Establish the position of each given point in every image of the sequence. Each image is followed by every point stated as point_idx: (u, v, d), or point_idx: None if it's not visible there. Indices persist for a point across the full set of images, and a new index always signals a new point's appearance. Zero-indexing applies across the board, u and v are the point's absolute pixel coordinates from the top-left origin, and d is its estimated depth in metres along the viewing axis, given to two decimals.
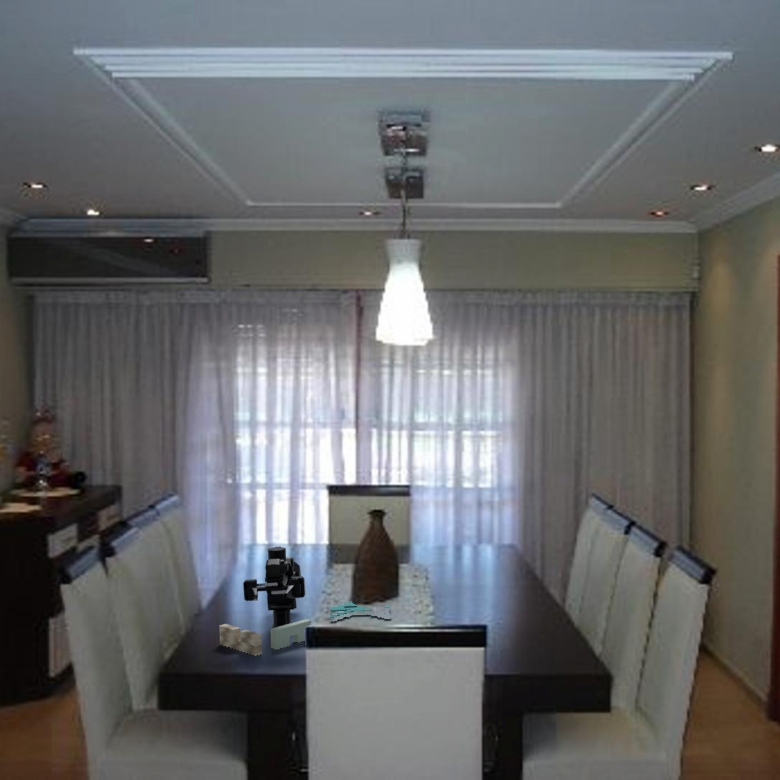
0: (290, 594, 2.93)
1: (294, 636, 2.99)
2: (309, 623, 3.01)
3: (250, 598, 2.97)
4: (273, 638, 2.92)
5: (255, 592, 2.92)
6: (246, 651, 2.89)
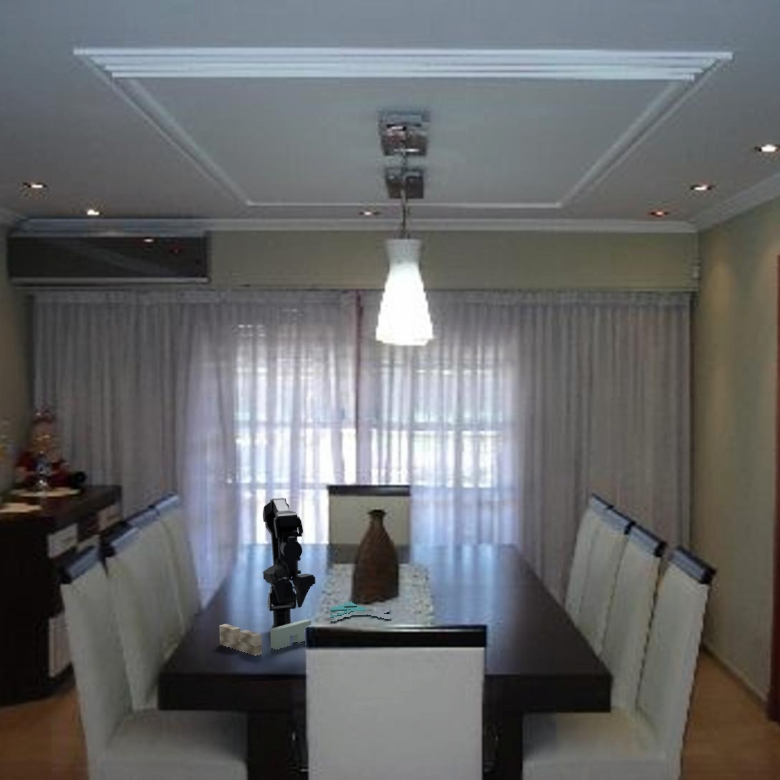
0: (302, 599, 2.93)
1: (294, 636, 2.99)
2: (309, 623, 3.01)
3: None
4: (273, 638, 2.92)
5: (277, 597, 3.00)
6: (246, 651, 2.89)
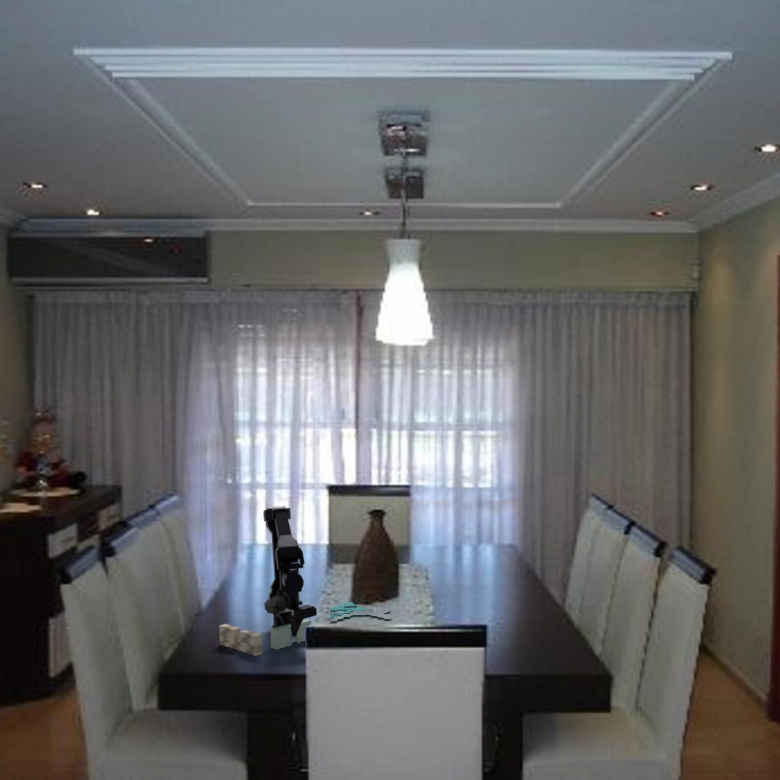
0: (297, 628, 2.96)
1: None
2: (309, 623, 3.01)
3: None
4: (273, 638, 2.92)
5: None
6: (246, 651, 2.89)
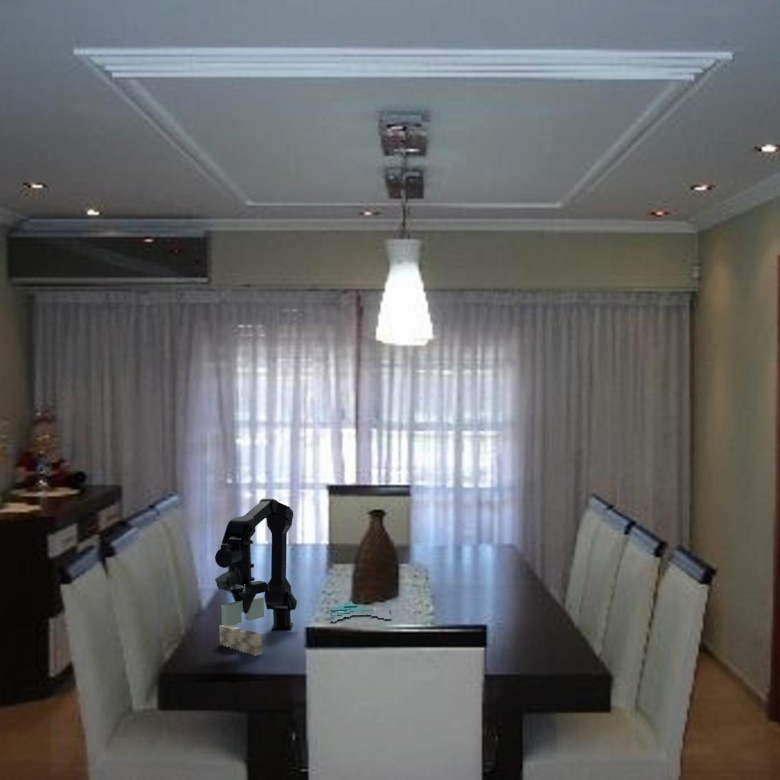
0: (248, 605, 2.92)
1: (246, 613, 2.95)
2: (262, 600, 2.97)
3: None
4: (224, 614, 2.88)
5: None
6: (246, 651, 2.89)
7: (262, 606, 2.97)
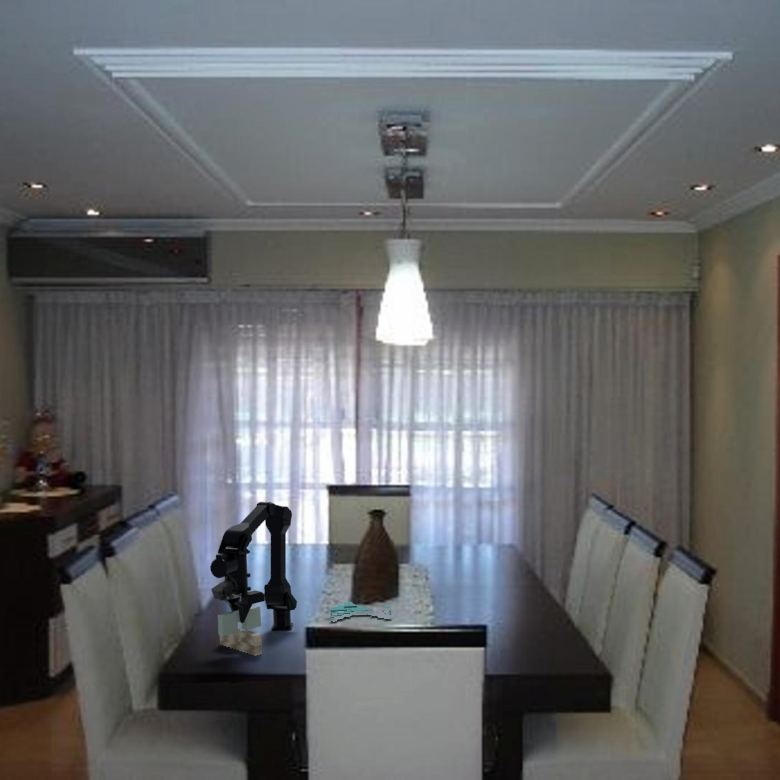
0: (245, 615, 2.92)
1: None
2: (258, 609, 2.97)
3: None
4: (220, 624, 2.88)
5: None
6: (246, 651, 2.89)
7: (259, 615, 2.97)
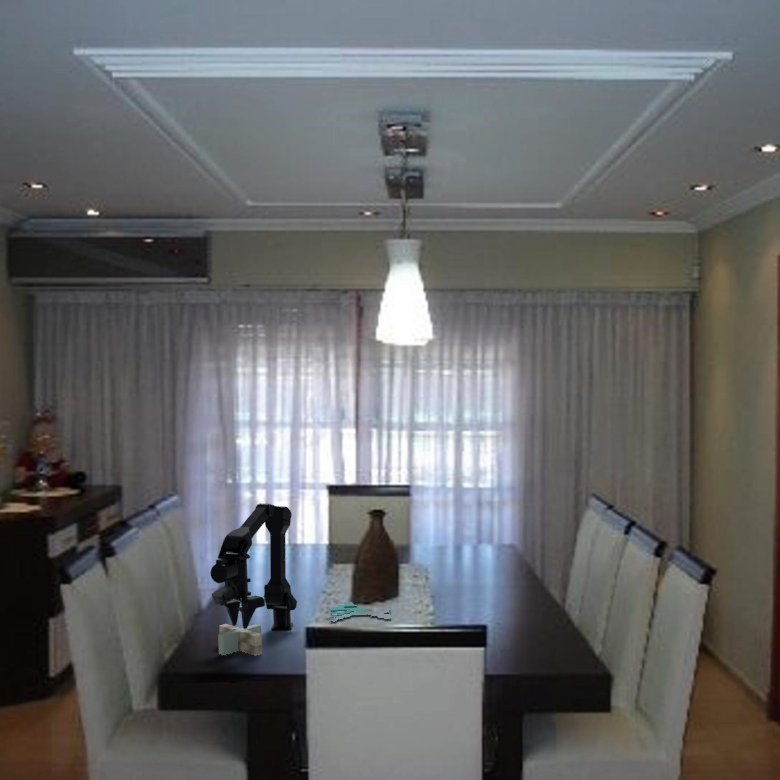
0: (248, 620, 2.91)
1: None
2: (259, 628, 2.97)
3: None
4: (221, 643, 2.88)
5: (231, 619, 2.95)
6: (246, 651, 2.89)
7: None
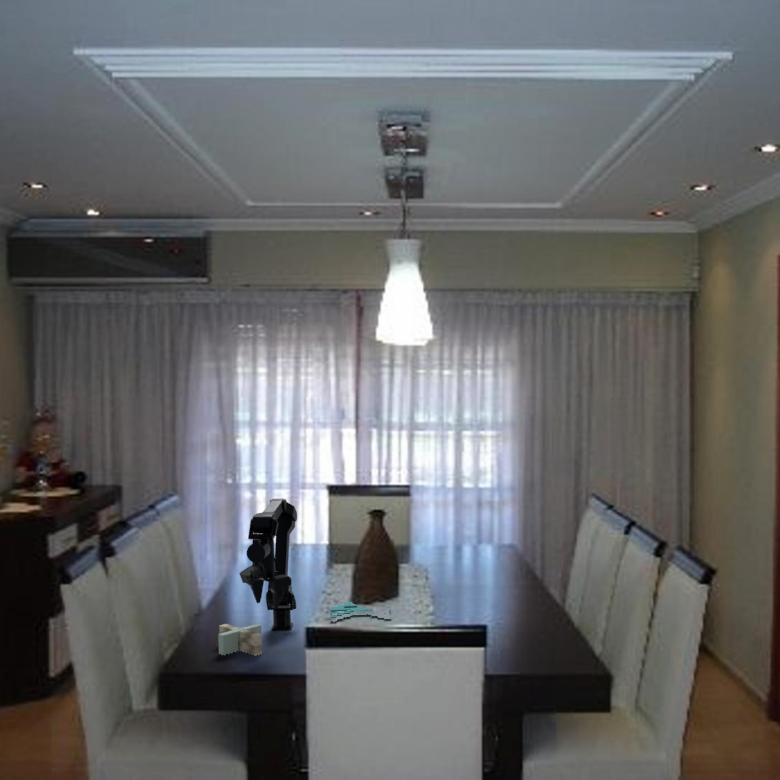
0: (279, 600, 2.95)
1: None
2: (259, 628, 2.97)
3: None
4: (221, 643, 2.88)
5: (255, 597, 3.02)
6: (246, 651, 2.89)
7: None
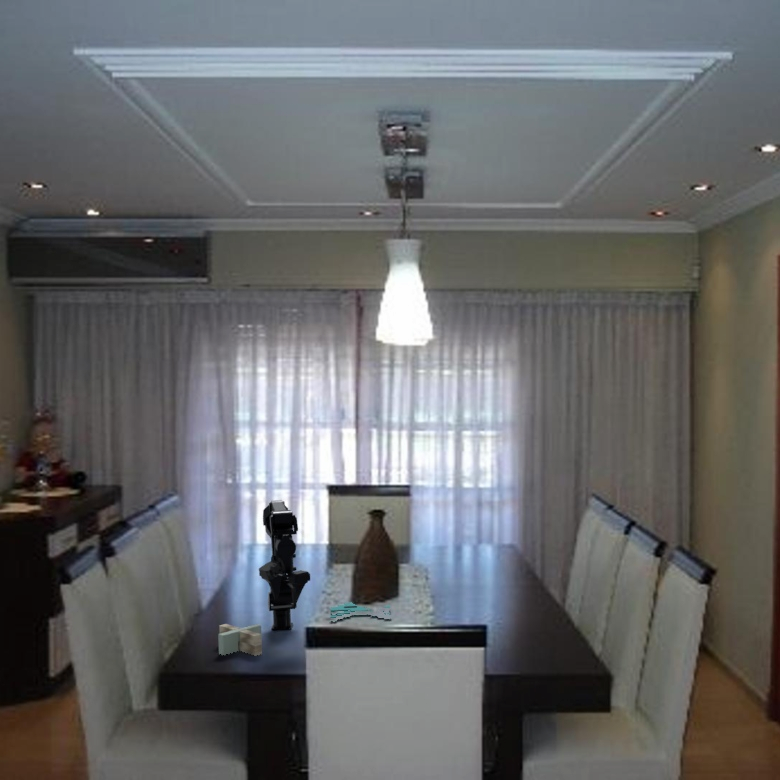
0: (297, 595, 2.98)
1: None
2: (259, 628, 2.97)
3: None
4: (221, 643, 2.88)
5: (273, 593, 3.05)
6: (246, 651, 2.89)
7: None
